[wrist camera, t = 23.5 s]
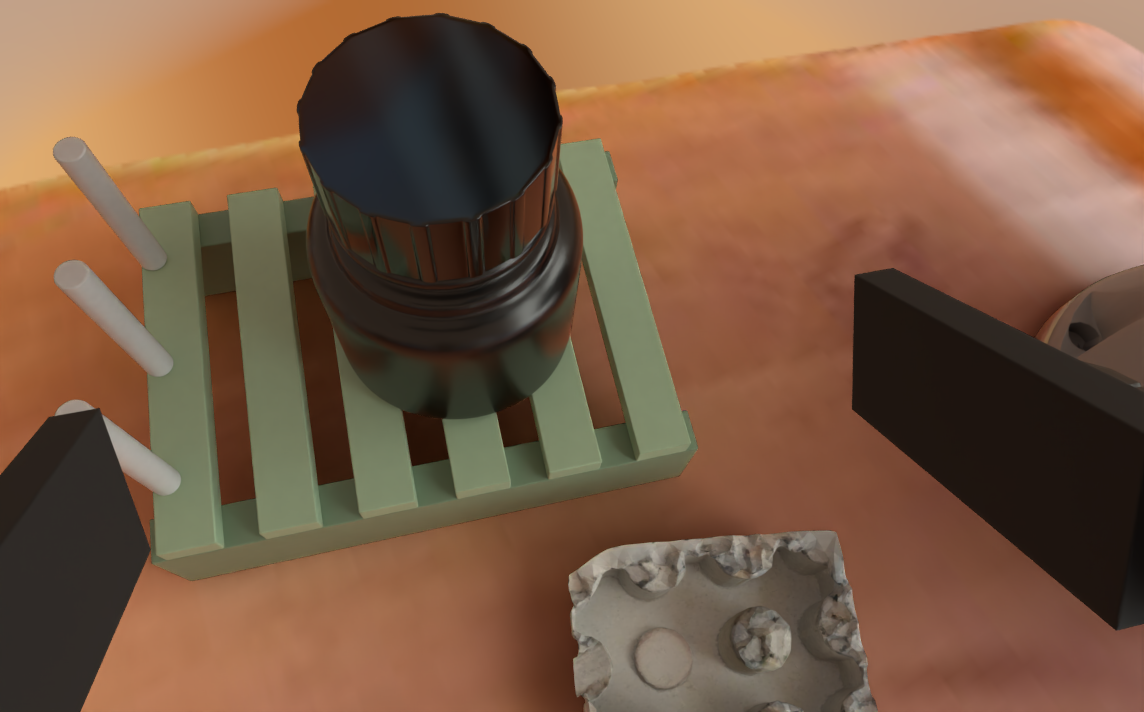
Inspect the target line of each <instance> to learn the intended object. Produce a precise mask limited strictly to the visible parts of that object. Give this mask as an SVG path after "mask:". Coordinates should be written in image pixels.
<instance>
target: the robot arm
mask: <svg viewBox="0 0 1144 712" xmlns="http://www.w3.org/2000/svg"><path fill="white" fill-rule="evenodd" d="M852 410H854V411H855V412H856V413H857V414H858V415H860V416H861V417H862V418H863V419H864V420H866V421H867V422H868V423H869V424H870V425H872V426H873V427H874V428H875V429H876V430H878V431H879V432H880V433H881V434H882V435H883V436H885V437H886V438H887V439H888V440H889V441H891V442H892V443H893V444H894V445H895V446H897V447H898V448H899V449H900V450H901V451H903V452H904V453H905V454H906V455H907V456H909V457H910V458H911V459H912V460H913V461H915V462H916V463H917V464H918V465H919V466H920V467H922V468H923V469H924V470H925V471H926V472H928V473H929V474H930V475H931V476H932V477H934V478H935V479H936V480H937V481H938V482H940V483H941V484H942V485H943V486H944V487H946V488H947V489H948V490H949V491H950V492H951V493H953V494H954V495H955V496H956V497H957V498H959V499H960V500H961V501H962V502H963V503H965V504H966V505H967V506H968V507H969V508H971V509H972V510H973V511H974V512H975V513H977V514H978V515H979V516H980V517H981V518H983V519H984V520H985V521H986V522H987V523H988V524H990V525H991V526H992V527H993V528H994V529H996V530H997V531H998V532H999V533H1000V534H1002V535H1003V536H1004V537H1005V538H1006V539H1008V540H1009V541H1010V542H1011V543H1012V544H1014V545H1015V546H1016V547H1017V548H1018V549H1019V550H1021V551H1022V552H1023V553H1024V554H1025V555H1027V556H1028V557H1029V558H1030V559H1031V560H1033V561H1034V562H1035V563H1036V564H1037V565H1039V566H1040V567H1041V568H1042V569H1043V570H1045V571H1046V572H1047V573H1048V574H1049V575H1050V576H1052V577H1053V578H1054V579H1055V580H1056V581H1058V582H1059V583H1060V584H1061V585H1062V586H1064V587H1065V588H1066V589H1067V590H1068V591H1070V592H1071V593H1072V594H1073V595H1074V596H1076V597H1077V598H1078V599H1079V600H1080V601H1082V602H1083V603H1084V604H1085V605H1086V606H1087V607H1089V608H1090V609H1091V610H1092V611H1093V612H1095V613H1096V614H1097V615H1098V616H1099V617H1101V618H1102V619H1103V620H1104V621H1105V622H1107V623H1108V624H1109V625H1110V626H1111V627H1113V628H1114V629H1115V630H1116V631H1117V630H1121V629H1125V628H1129V627H1133V626H1137V625H1141V624H1144V265H1142V266H1138V267H1134V268H1130V269H1127V270H1124V271H1121V272H1119V273H1116V274H1113V275H1111V276H1108V277H1105V278H1103V279H1101V280H1099V281H1097V282H1095V283H1093V284H1092V285H1090V286H1089V287H1087V288H1086V289H1084V290H1083V291H1082V292H1080V293H1079V294H1078V295H1076V296H1075V297H1074V298H1072V299H1071V300H1070V301H1068V302H1067V303H1066V304H1064V305H1063V306H1062V307H1061V308H1059V309H1058V310H1057V311H1056V312H1055V313H1054V314H1053V315H1052V316H1051V317H1050V318H1049V319H1048V320H1047V321H1046V322H1045V324H1044V325H1043V326H1042V328H1041V329H1040V331H1039V332H1038V333H1037V335H1036V337H1035V338H1034V337H1032V336H1030V335H1028V334H1026V333H1024V332H1022V331H1020V330H1018V329H1015V328H1013V327H1011V326H1009V325H1007V324H1005V323H1003V322H1001V321H999V320H997V319H995V318H993V317H991V316H989V315H987V314H985V313H983V312H981V311H979V310H977V309H975V308H973V307H971V306H969V305H967V304H965V303H963V302H961V301H959V300H957V299H955V298H953V297H951V296H949V295H947V294H945V293H943V292H941V291H939V290H937V289H935V288H933V287H930V286H928V285H926V284H924V283H922V282H920V281H918V280H916V279H914V278H912V277H910V276H908V275H906V274H904V273H902V272H900V271H898V270H896V269H894V268H890V269H885V270H879V271H873V272H868V273H862V274H856V275H855V281H854V333H853V385H852ZM150 550H151V549H150V546H149V544H148V541H147V538H146V535H145V533H144V530H143V527H142V524H141V522H140V519H139V516H138V513H137V510H136V508H135V505H134V502H133V499H132V497H131V494H130V491H129V488H128V486H127V483H126V480H125V477H124V474H123V472H122V469H121V466H120V463H119V461H118V458H117V455H116V452H115V450H114V447H113V444H112V441H111V438H110V436H109V433H108V430H107V427H106V425H105V422H104V419H103V416H102V414H101V411H100V408H97V409H91V410H85V411H80V412H74V413H68V414H63V415H57V416H51V417H49V418H48V419H47V420H46V421H45V422H44V424H43V425H42V426H41V427H40V428H39V430H38V431H37V432H36V433H35V434H34V436H33V437H32V438H31V439H30V440H29V442H28V443H27V444H26V445H25V446H24V448H23V449H22V450H21V451H20V452H19V454H18V455H17V456H16V457H15V458H14V460H13V461H12V462H11V463H10V464H9V466H8V467H7V468H6V469H5V470H4V472H3V473H2V474H1V475H0V712H80V711H81V709H82V707H83V704H84V702H85V700H86V697H87V695H88V693H89V691H90V688H91V686H92V684H93V681H94V679H95V677H96V674H97V672H98V670H99V668H100V665H101V663H102V661H103V658H104V656H105V654H106V651H107V649H108V647H109V645H110V642H111V640H112V638H113V635H114V633H115V631H116V629H117V626H118V624H119V622H120V619H121V617H122V615H123V612H124V610H125V608H126V606H127V603H128V601H129V599H130V596H131V594H132V592H133V589H134V587H135V585H136V583H137V580H138V578H139V576H140V573H141V571H142V569H143V566H144V564H145V562H146V560H147V557H148V555H149V553H150Z"/></svg>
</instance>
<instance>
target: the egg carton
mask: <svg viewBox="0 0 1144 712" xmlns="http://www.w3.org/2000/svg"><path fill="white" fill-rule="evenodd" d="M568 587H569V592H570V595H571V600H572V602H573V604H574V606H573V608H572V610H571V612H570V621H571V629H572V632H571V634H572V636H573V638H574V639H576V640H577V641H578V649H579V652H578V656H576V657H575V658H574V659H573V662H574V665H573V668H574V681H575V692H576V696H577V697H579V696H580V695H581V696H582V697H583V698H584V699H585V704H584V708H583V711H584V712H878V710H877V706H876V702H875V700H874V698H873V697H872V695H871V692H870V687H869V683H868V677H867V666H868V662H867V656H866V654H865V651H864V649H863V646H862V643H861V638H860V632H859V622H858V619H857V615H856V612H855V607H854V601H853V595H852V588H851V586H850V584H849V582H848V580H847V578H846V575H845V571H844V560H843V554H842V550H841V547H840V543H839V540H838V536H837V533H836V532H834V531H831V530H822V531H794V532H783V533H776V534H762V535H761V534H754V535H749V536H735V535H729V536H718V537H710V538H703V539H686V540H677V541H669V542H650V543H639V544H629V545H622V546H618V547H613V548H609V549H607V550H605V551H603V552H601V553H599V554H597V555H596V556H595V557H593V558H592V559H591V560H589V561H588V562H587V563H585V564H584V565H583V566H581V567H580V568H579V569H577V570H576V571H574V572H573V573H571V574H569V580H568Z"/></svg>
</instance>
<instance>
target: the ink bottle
mask: <svg viewBox="0 0 1144 712" xmlns="http://www.w3.org/2000/svg"><path fill="white" fill-rule="evenodd" d="M297 113H298V116H299V131H300V141H299V147H300V150H301V153H302V156H303V158H304V161H305V164H306V166H307V169H308V172H309V175H310V177H311V180H312V183H313V186H314V188H315V191H316V194H315V196H314V199H313V202H312V205H311V208H310V212H309V216H308V221H307V230H306V251H307V259H308V264H309V269H310V273H311V276H312V279H313V282H314V285H315V288H316V290H317V292H318V295H319V297H320V299H321V301H322V304H323V306H324V308H325V310H326V313H327V315H328V317H329V319H330V321H331V324H332V326H333V328H334V330H335V333H336V335H337V337H338V339H339V342H340V344H341V346H342V348H343V350H344V353H345V355H346V357H347V359H348V361H349V363H350V365H351V367H352V368H353V370H354V371H355V373H356V374H357V376H358V377H359V378H360V380H361V381H362V382H363V383H364V384H365V385H366V386H367V387H368V388H369V389H370V390H371V391H372V392H373V393H374V394H376V395H377V396H378V397H380V398H381V399H382V400H384V401H386V402H387V403H389V404H391V405H393V406H395V407H397V408H399V409H401V410H404V411H406V412H409V413H412V414H416V415H420V416H424V417H429V418H436V419H469V418H476V417H481V416H486V415H490V414H493V413H496V412H499V411H502V410H505V409H507V408H509V407H512V406H514V405H516V404H517V403H519V402H521V401H523V400H524V399H526V398H527V397H529V396H530V395H532V394H533V393H534V392H535V391H537V390H538V389H539V388H540V387H541V386H542V385H543V384H544V383H545V382H546V381H547V380H548V378H549V377H550V376H551V375H552V373H553V372H554V370H555V369H556V367H557V366H558V364H559V362H560V360H561V358H562V356H563V354H564V352H565V349H566V347H567V344H568V340H569V337H570V333H571V328H572V321H573V315H574V308H575V301H576V295H577V288H578V282H579V275H580V268H581V262H582V254H583V226H582V219H581V214H580V210H579V206H578V203H577V200H576V197H575V194H574V192H573V190H572V188H571V185H570V184H569V182H568V180H567V178H566V177H565V175H564V173H563V172H562V170H561V169H560V168H559V159H560V148H561V136H562V124H563V118H562V116H561V115H560V111H559V105H558V100H557V96H556V85H555V82H554V80H553V78H552V77H551V76H549V75H548V74H547V73H546V71H545V70H544V68H543V67H542V66H541V65H540V63H539V62H538V61H537V59H536V58H535V57H534V56H533V54H532V51H531V49H530V48H528V47H527V46H526V45H524V44H520V43H519V42H517V41H516V40H514V39H512V38H511V37H509V36H507V35H506V34H504V33H502V32H501V31H499V30H497V29H496V28H495V27H494V26H492V25H491V24H489V23H486V22H481V23H480V22H476V21H472V20H467V19H463V18H458V17H453V16H450V15H448V14H445V13H436V14H434V15H422V16H410V17H399V16H397V17H392V18H389V19H387V20H386V21H385V22H382V23H380V24H377V25H375V26H372V27H370V28H367V29H365V30H362V31H360V32H358V33H352V34H350V35H349V36H347V37H346V38H344V40H343V42H342V43H341V44H340V45H339V46H338V47H336V48H335V49H334V50H333V51H332V52H331V53H330V54H328V55H327V56H326V57H325V58H324V59H323V60H322V61H320V62H318V63H317V64H316V65H315V67H314V68H313V70H312V76H311V77H310V80H309V82H308V84H307V86H306V89H305V91H304V93H303V96H302V98H301V99H300V100H299V101H298V104H297Z"/></svg>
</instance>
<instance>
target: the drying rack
mask: <svg viewBox="0 0 1144 712" xmlns="http://www.w3.org/2000/svg"><path fill="white" fill-rule="evenodd" d="M53 156H54V158H55V159H56V160H57V162H58V163H59V164H60V165H61V167H62V168H63V169H64V170H65V172H66V173H67V174H68V175H69V177H70V178H71V179H72V180H73V182H74V183H75V184H76V185H77V187H78V188H79V189H80V190H81V191H82V193H83V194H84V195H85V196H86V198H87V199H88V200H89V201H90V203H91V204H92V205H93V206H94V208H95V209H96V210H97V211H98V213H99V214H100V215H101V216H102V217H103V219H104V220H105V221H106V222H107V224H108V225H109V226H110V227H111V229H112V230H113V231H114V232H115V234H116V235H117V236H118V237H119V238H120V240H121V241H122V242H123V243H124V245H125V246H126V247H127V248H128V250H129V251H130V252H131V253H132V255H133V256H134V257H135V258H136V260H137V261H138V262H139V263H140V264H141V266H142V282H143V302H144V323H145V327H144V326H143V325H142V324H141V323H140V322H139V321H138V320H137V318H136V317H135V316H134V315H133V314H132V313H131V312H130V311H129V310H128V309H127V308H126V307H125V306H124V304H123V303H122V302H121V301H120V300H119V299H118V298H117V297H116V296H115V295H114V294H113V293H112V291H111V290H110V289H109V288H108V287H107V286H106V285H105V284H104V283H103V282H102V281H101V280H100V279H99V277H98V276H97V275H96V274H95V273H94V272H93V271H92V270H91V269H90V268H89V267H88V266H87V265H86V264H85V263H84V262H82V261H79V260H69V261H66V262H64V263H62V264H60V265H59V266H58V267H57V269H56V270H55V272H54V282H55V284H56V285H57V286H58V287H59V288H60V289H61V290H62V291H63V292H64V293H65V294H66V295H67V296H68V297H69V298H70V299H71V300H72V301H73V302H74V303H75V304H76V305H77V306H78V307H79V308H81V309H82V310H83V311H84V312H85V313H86V314H87V315H88V316H89V317H90V318H91V319H92V320H93V321H94V322H95V323H96V324H97V325H98V326H99V327H100V328H101V329H102V330H103V331H104V332H105V333H106V334H108V335H109V336H110V337H111V338H112V339H113V340H114V341H115V342H116V343H117V344H118V345H119V346H120V347H121V348H122V349H123V350H124V351H125V352H126V353H127V354H128V355H129V356H130V357H131V358H132V359H133V360H135V361H136V362H137V363H138V364H139V365H140V366H141V367H142V368H143V369H144V370H145V371H146V372H147V384H148V404H149V425H150V445H151V451H150V450H149V449H148V448H146V447H145V446H144V445H142V444H141V443H140V442H138V441H137V440H136V439H135V438H133V437H132V436H131V435H129V434H128V433H127V432H125V431H124V430H123V429H121V428H120V427H119V426H117V425H116V424H115V423H113V422H112V421H111V420H109V419H108V418H107V417H105V416H104V415H103V414H102V416H103V419H104V422H105V425H106V427H107V430H108V433H109V436H110V438H111V441H112V444H113V447H114V450H115V452H116V455H117V458H118V461H119V463H120V466H121V469H122V472H123V473H125V474H127V475H128V476H130V477H131V478H133V479H134V480H136V481H137V482H139V483H140V484H142V485H144V486H145V487H147V488H148V489H150V490H151V491H153V506H154V519H151V520H150V539H151V561H152V564H153V565H156V566H158V567H160V568H162V569H165V570H167V571H169V572H171V573H174V574H176V575H178V576H180V577H183V578H185V579H187V580H190V581H195V580H199V579H204V578H209V577H213V576H218V575H222V574H227V573H232V572H236V571H241V570H246V569H250V568H255V567H260V566H264V565H269V564H274V563H278V562H283V561H287V560H292V559H297V558H301V557H306V556H311V555H315V554H320V553H325V552H329V551H334V550H338V549H343V548H348V547H352V546H357V545H362V544H366V543H371V542H376V541H380V540H385V539H390V538H394V537H399V536H403V535H408V534H413V533H417V532H422V531H427V530H431V529H436V528H441V527H445V526H450V525H455V524H459V523H464V522H468V521H473V520H478V519H482V518H487V517H492V516H496V515H501V514H506V513H510V512H515V511H519V510H524V509H529V508H533V507H538V506H543V505H547V504H552V503H557V502H561V501H566V500H571V499H575V498H580V497H584V496H589V495H594V494H598V493H603V492H608V491H612V490H617V489H622V488H626V487H631V486H635V485H640V484H645V483H649V482H654V481H659V480H663V479H668V478H673V477H677V476H680V474H681V473H682V472H683V470H684V469H685V467H686V466H687V464H688V463H689V461H690V460H691V458H692V457H693V455H694V454H695V452H696V451H697V449H698V445H697V442H696V438H695V435H694V432H693V428H692V425H691V422H690V418H689V415H688V412H687V411H681V407H680V404H679V401H678V397H677V394H676V391H675V387H674V384H673V380H672V377H671V374H670V370H669V367H668V364H667V360H666V357H665V354H664V350H663V347H662V343H661V340H660V337H659V333H658V330H657V327H656V323H655V320H654V317H653V313H652V310H651V306H650V303H649V300H648V296H647V293H646V290H645V286H644V283H643V280H642V276H641V273H640V269H639V266H638V263H637V259H636V256H635V253H634V249H633V246H632V242H631V239H630V236H629V232H628V229H627V226H626V222H625V219H624V216H623V212H622V209H621V205H620V202H619V199H618V195H617V192H616V186H617V181H618V179H617V175H616V172H615V169H614V165H613V162H612V159H611V155H610V152H609V151H606V152H604V148H603V145H602V141H601V139H600V138H598V139H592V140H585V141H579V142H572V143H565V144H561V148H560V159H559V168H560V169H561V170H562V172H563V173H564V175H565V177H566V178H567V180H568V182H569V184H570V185H571V188H572V190H573V192H574V194H575V197H576V200H577V203H578V206H579V210H580V214H581V219H582V226H583V254H582V262H583V266H584V270H585V273H586V277H587V281H588V285H589V288H590V292H591V296H592V299H593V303H594V307H595V311H596V314H597V318H598V322H599V325H600V329H601V333H602V337H603V340H604V344H605V348H606V351H607V355H608V359H609V362H610V366H611V370H612V374H613V377H614V381H615V385H616V388H617V392H618V396H619V400H620V403H621V407H622V411H623V414H624V418H625V422H626V423H622V424H617V425H612V426H607V427H602V428H598V429H594V427H593V423H592V419H591V415H590V412H589V408H588V404H587V400H586V396H585V392H584V388H583V384H582V380H581V376H580V372H579V368H578V364H577V360H576V356H575V352H574V349H573V345H572V341H571V337H569V340H568V344H567V347H566V349H565V352H564V354H563V356H562V358H561V360H560V362H559V364H558V366H557V367H556V369H555V370H554V372H553V373H552V375H551V376H550V377H549V378H548V380H547V381H546V382H545V383H544V384H543V385H542V386H541V387H540V388H539V389H538V390H537V391H535V392H534V393H533V394H532V395H530V396H529V399H530V403H531V407H532V412H533V416H534V421H535V425H536V429H537V434H538V438H539V441H534V442H529V443H524V444H519V445H514V446H509V447H503V442H502V437H501V433H500V428H499V423H498V418H497V414H496V413H493V414H490V415H486V416H481V417H476V418H469V419H442V423H443V428H444V434H445V439H446V444H447V450H448V455H449V459H446V460H441V461H436V462H431V463H426V464H421V465H416V466H412V465H411V459H410V453H409V447H408V441H407V435H406V429H405V423H404V417H403V411H402V410H401V409H399V408H397V407H395V406H393V405H391V404H389V403H387V402H386V401H384V400H382V399H381V398H380V397H378V396H377V395H376V394H374V393H373V392H372V391H371V390H370V389H369V388H368V387H367V386H366V385H365V384H364V383H363V382H362V381H361V380H360V378H359V377H358V376H357V374H356V373H355V371H354V370H353V368H352V367H351V365H350V363H349V361H348V359H347V357H346V355H345V353H344V350H343V348H342V346H341V344H340V342H339V339H338V337H337V335H336V333H335V330H334V328H333V332H334V339H335V346H336V353H337V361H338V368H339V375H340V382H341V389H342V396H343V403H344V411H345V418H346V425H347V432H348V439H349V446H350V453H351V461H352V468H353V475H354V478H352V479H347V480H343V481H338V482H333V483H328V484H323V485H318V480H317V472H316V464H315V456H314V448H313V440H312V432H311V424H310V416H309V408H308V399H307V391H306V383H305V375H304V367H303V359H302V351H301V343H300V335H299V327H298V319H297V310H296V302H295V294H294V286H293V281H297V280H303V279H309V278H312V276H311V273H310V269H309V264H308V259H307V251H306V230H307V221H308V216H309V212H310V208H311V205H312V202H313V199H314V197H309V198H302V199H296V200H289V201H283V200H282V198H281V195H280V193H279V191H278V189H277V188H270V189H264V190H257V191H251V192H244V193H237V194H231V195H227V201H228V210H224V211H218V212H212V213H205V214H199V215H198V213H197V211H196V210H195V208H194V206H193V205H192V203H191V202H190V201H186V202H179V203H173V204H166V205H160V206H153V207H147V208H140V209H139V216H138V214H137V213H136V212H135V210H134V209H133V207H132V206H131V205H130V203H129V202H128V201H127V199H126V198H125V197H124V195H123V194H122V192H121V191H120V190H119V188H118V187H117V186H116V184H115V183H114V182H113V180H112V179H111V178H110V176H109V175H108V173H107V172H106V171H105V169H104V168H103V167H102V165H101V164H100V163H99V161H98V160H97V159H96V157H95V156H94V154H93V153H92V152H91V150H90V149H89V148H88V146H87V145H86V143H85V142H84V141H83V140H81V139H79V138H76V137H67V138H64V139H62V140H60V141H59V142H57V144H56V145H55V146H54V149H53ZM313 189H314V196H315V194H316V191H315V188H314V186H313ZM231 291H236V296H237V307H238V317H239V328H240V338H241V349H242V359H243V370H244V381H245V391H246V402H247V412H248V423H249V433H250V444H251V454H252V465H253V475H254V486H255V496H256V498H254V499H249V500H244V501H240V502H235V503H230V504H225V505H221V495H220V483H219V470H218V457H217V445H216V432H215V420H214V407H213V394H212V382H211V369H210V356H209V344H208V331H207V319H206V306H205V296H208V295H214V294H220V293H226V292H231ZM91 409H95V408H93V407H92V406H91V405H90V404H88V403H87V402H85V401H83V400H70V401H67V402H65V403H64V404H62V405H61V406H60V407H59V408H58V409H57V411H56V413H55V415H54V416H57V415H63V414H68V413H74V412H80V411H85V410H91Z"/></svg>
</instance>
